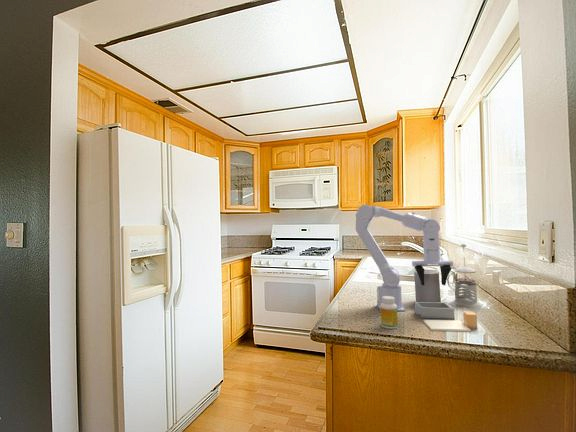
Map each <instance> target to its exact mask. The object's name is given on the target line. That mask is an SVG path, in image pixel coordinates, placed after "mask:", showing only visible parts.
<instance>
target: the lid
mask: <svg viewBox="0 0 576 432" xmlns="http://www.w3.org/2000/svg"><path fill="white" fill-rule="evenodd" d="M462 313H463V314H462V317H463V319H462V320H463V322H462V321H460V320H459V319H457V320H456V319H455V320H432V319H422V321H423V323H424V324H425V326H427V328H428V329H429V330H430V331H432V332H433V331H434V332H437V331H439V332H463V333H464V332H465V333H467V332H469V333H470V332H472V330H473V329H474V330H475V329H476V330H477V329H478V317H477V314H476V313H475V312H473V311H463V312H462ZM471 329H472V330H471Z"/></svg>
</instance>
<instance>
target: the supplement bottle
mask: <svg viewBox="0 0 576 432" xmlns="http://www.w3.org/2000/svg"><path fill="white" fill-rule="evenodd" d="M382 301H383V303H381V305H380V309H381V310H380V309H379V310H380V325H381V327H382V328H385V329H387V330H388V329H389V330H390V329H391V330H392V329H398V327H399V323H398V322H399V319H398V318H399V316H398V311H397V305H396V304H395V303H394V302H395V298H394V297H392V296H383V297H382Z"/></svg>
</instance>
